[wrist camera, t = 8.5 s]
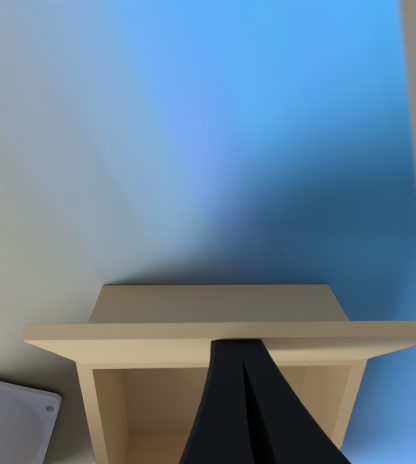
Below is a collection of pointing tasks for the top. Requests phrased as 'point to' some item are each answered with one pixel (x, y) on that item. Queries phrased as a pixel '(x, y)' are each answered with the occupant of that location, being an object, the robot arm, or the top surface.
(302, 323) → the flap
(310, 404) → the carton
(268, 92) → the top surface
